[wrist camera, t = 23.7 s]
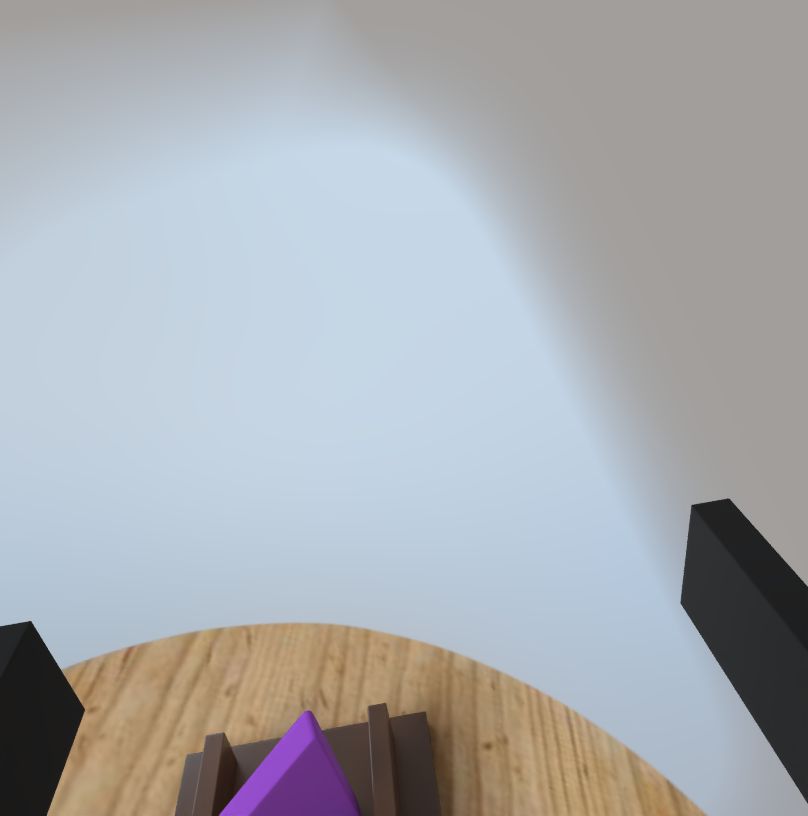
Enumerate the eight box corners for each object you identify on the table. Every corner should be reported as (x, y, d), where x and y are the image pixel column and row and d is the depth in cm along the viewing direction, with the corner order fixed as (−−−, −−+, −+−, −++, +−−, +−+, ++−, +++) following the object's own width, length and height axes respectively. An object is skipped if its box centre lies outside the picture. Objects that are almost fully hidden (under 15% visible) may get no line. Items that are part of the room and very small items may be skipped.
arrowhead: (277, 891, 37) (150, 859, 31) (271, 861, 38) (148, 825, 32) (416, 790, 37) (315, 737, 31) (406, 763, 38) (308, 707, 32)
